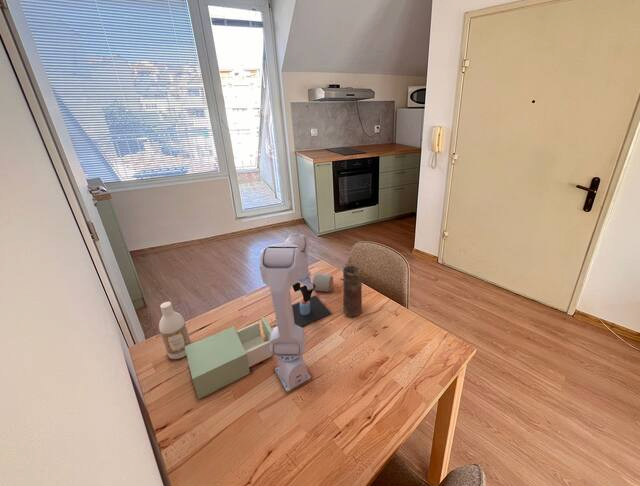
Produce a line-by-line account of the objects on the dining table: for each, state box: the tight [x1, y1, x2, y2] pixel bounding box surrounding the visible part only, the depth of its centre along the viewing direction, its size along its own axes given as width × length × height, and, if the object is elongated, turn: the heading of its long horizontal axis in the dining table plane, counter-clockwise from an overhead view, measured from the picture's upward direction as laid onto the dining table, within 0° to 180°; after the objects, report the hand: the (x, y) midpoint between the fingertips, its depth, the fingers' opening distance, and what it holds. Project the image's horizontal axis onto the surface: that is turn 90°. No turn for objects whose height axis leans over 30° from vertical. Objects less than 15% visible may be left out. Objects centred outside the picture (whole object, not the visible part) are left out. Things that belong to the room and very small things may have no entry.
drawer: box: [236, 316, 277, 368], centre depth 98 cm, size 18×12×7 cm
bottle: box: [298, 298, 310, 315], centre depth 116 cm, size 4×4×6 cm
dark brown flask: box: [342, 265, 363, 318], centre depth 115 cm, size 8×7×20 cm
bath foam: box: [158, 301, 192, 360], centre depth 94 cm, size 7×7×20 cm
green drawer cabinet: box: [185, 326, 251, 400], centre depth 91 cm, size 15×14×9 cm
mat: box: [292, 295, 332, 328], centre depth 117 cm, size 13×16×1 cm
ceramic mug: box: [312, 272, 334, 293], centre depth 131 cm, size 11×8×8 cm
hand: (301, 295), depth 111 cm, fingers open, 7 cm apart
